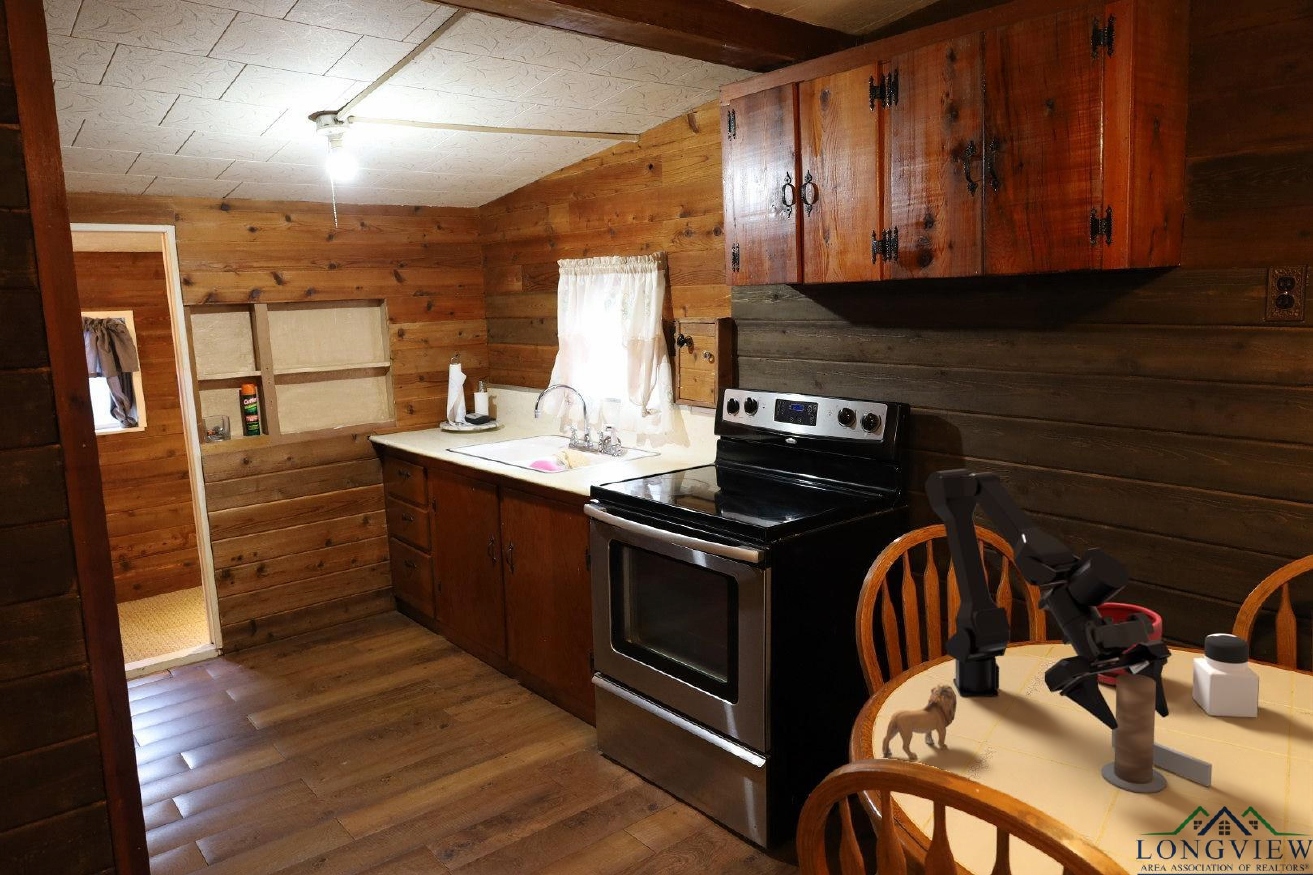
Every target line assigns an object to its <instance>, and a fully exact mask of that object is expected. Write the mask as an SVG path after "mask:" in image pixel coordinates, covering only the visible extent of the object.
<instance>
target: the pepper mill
mask: <svg viewBox="0 0 1313 875" xmlns="http://www.w3.org/2000/svg"><path fill="white" fill-rule="evenodd" d="M1115 687H1116V688H1115V689H1116V691H1115V719H1116V722H1117V724H1118V728H1116V729H1115V748H1114V756H1113V758H1114V759H1113V760H1114V761H1113V762H1114V774H1115V775H1116V776H1117V777H1118V778H1120V779H1122V780H1124V781H1126V782H1130V783H1135V784H1147V783H1150V782H1151V781H1152V780H1153V769H1154V764H1153V754H1154V742H1155V722H1156V716H1155V715H1156V710H1155V696H1156V682H1155V681H1154V680H1153V679H1151V678H1149V677H1147V676H1143V675H1139V674H1121V675H1118V676H1117V684H1116V685H1115Z"/></svg>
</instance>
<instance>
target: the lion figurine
mask: <svg viewBox="0 0 1313 875" xmlns="http://www.w3.org/2000/svg"><path fill="white" fill-rule="evenodd" d="M928 698H929V699H928V702H927V704H926V706H924V707H923V708H920V709H915V710H906V709H902V710H897V711H896V712H895V713H893V714H892V715H891V717H890V720H889V722H888V725H887V730H886V735H885V736H884V738H882V746H881V747H882V749H881V752H882V753H883V755H882V759H883V758H887V759H888V756H889V754H891V753H892V752H891V751H892V750H891V748H890V742H891V740H893V739H894V738H895V737H896V736H897V734H898V733H899V735H900V737H901V740H902V747H901V748H902V751H904V752H905V754H906V756H907V757H908V758H910V759H917V758H918V755H917V753H916V752H914V751H913V752H912V751H911V748H910V745H911V741H912V739H913V737H914V736H913V735H914V734H913V733H915V734H919V735H921V734H925V737H924V742H925V743H927V744H933V743H934V741H935V740H934V739H933V736H932V732H933V731H936V733H937V734H938V735H937V736H938V740H937V745H938V747H939V748H940V750H947V749H948V744H946V743H945V741H946V736H947V727H949V726H950V725H951V724H952V723H953V722H954V720H955V716H956V711H957V702H958V700H957V694H956V692H955V690H954V689H953V687H952V686H951V685H948V684H945V683H939V684H937V685H936V686H935V685H934V686H933V687H932V688H931V689H930V696H929V697H928Z"/></svg>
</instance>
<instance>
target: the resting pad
mask: <svg viewBox="0 0 1313 875" xmlns="http://www.w3.org/2000/svg"><path fill="white" fill-rule="evenodd" d="M1101 776H1102V777H1103V779H1104V780H1105V781H1106V782H1108V783H1109V784H1111V785H1113V786H1115V787H1117V788H1120V789H1122V790H1125V791H1127V792H1132V793H1133V792H1134V793H1140V794H1154V793H1158V792H1159V793H1160V792H1161V791H1164V789H1165V788H1166V786H1167V779H1166V778H1165V776H1164V775H1163V774H1162V773H1161V772H1160V771H1158V770H1156V769H1154V768H1153V780H1152V781H1151V782H1150V783H1147V784H1135V783H1130V782H1126V781H1124V780H1122V779H1120V778H1118V777H1117V776H1116V775H1115V774H1114V761H1112V762H1108V763H1106V764H1105V765H1103V766H1102V768H1101Z"/></svg>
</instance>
